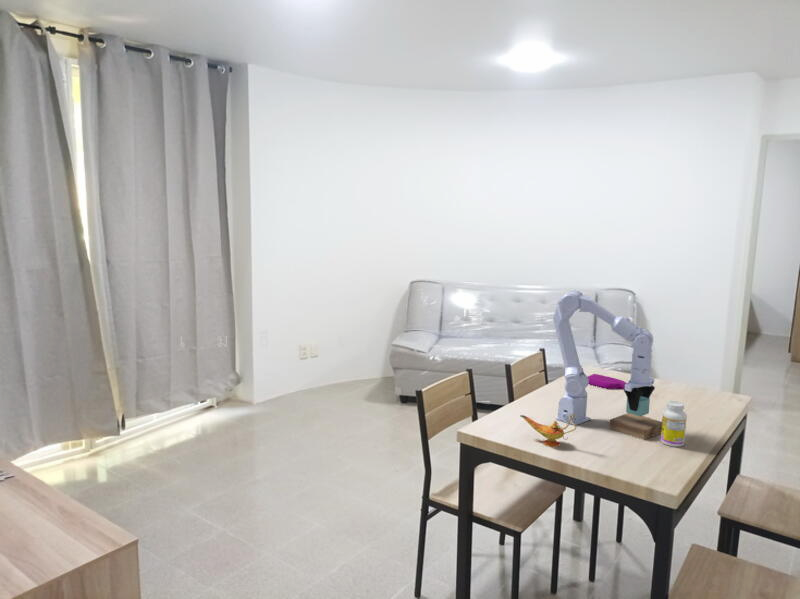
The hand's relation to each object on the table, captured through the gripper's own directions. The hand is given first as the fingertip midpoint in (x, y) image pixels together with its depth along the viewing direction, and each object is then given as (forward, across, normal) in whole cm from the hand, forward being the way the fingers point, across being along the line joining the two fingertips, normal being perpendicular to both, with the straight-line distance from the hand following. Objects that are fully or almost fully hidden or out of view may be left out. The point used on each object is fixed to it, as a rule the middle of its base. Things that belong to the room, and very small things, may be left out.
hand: (637, 408), depth 185 cm
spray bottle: (+8, +37, +30) cm, 48 cm away
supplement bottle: (+8, -1, -13) cm, 15 cm away
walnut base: (+7, 0, 0) cm, 7 cm away
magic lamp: (+8, -32, +11) cm, 35 cm away
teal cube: (+2, 0, 0) cm, 2 cm away
